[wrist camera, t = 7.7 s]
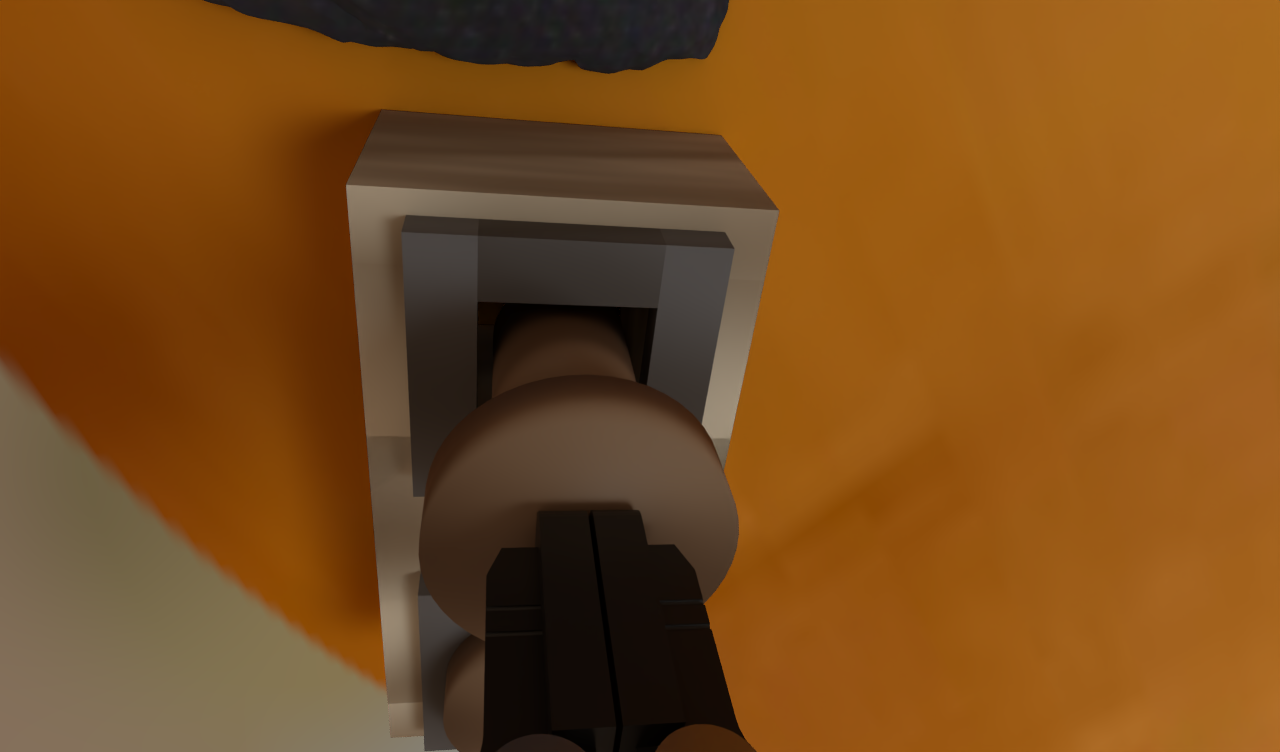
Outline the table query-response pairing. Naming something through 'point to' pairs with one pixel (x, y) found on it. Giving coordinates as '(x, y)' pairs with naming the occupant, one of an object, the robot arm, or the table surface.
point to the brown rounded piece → (568, 457)
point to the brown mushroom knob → (465, 696)
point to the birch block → (536, 274)
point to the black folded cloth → (514, 28)
